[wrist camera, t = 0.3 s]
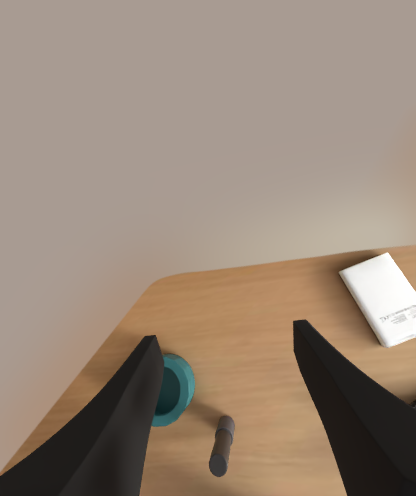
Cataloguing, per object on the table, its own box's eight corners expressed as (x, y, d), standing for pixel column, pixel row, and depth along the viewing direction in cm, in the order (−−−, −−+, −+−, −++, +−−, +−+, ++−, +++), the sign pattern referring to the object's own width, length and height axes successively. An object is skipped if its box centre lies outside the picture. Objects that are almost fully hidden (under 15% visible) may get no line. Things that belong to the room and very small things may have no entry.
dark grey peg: (235, 434, 35) (230, 479, 24) (219, 434, 35) (208, 479, 25) (233, 415, 35) (227, 451, 25) (218, 415, 36) (206, 452, 25)
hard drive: (382, 254, 39) (433, 327, 35) (337, 272, 39) (381, 347, 35) (388, 251, 38) (442, 327, 33) (340, 270, 38) (387, 348, 34)
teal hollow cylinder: (196, 414, 36) (190, 425, 32) (142, 417, 37) (129, 428, 33) (193, 351, 39) (186, 354, 35) (142, 355, 40) (131, 359, 36)
